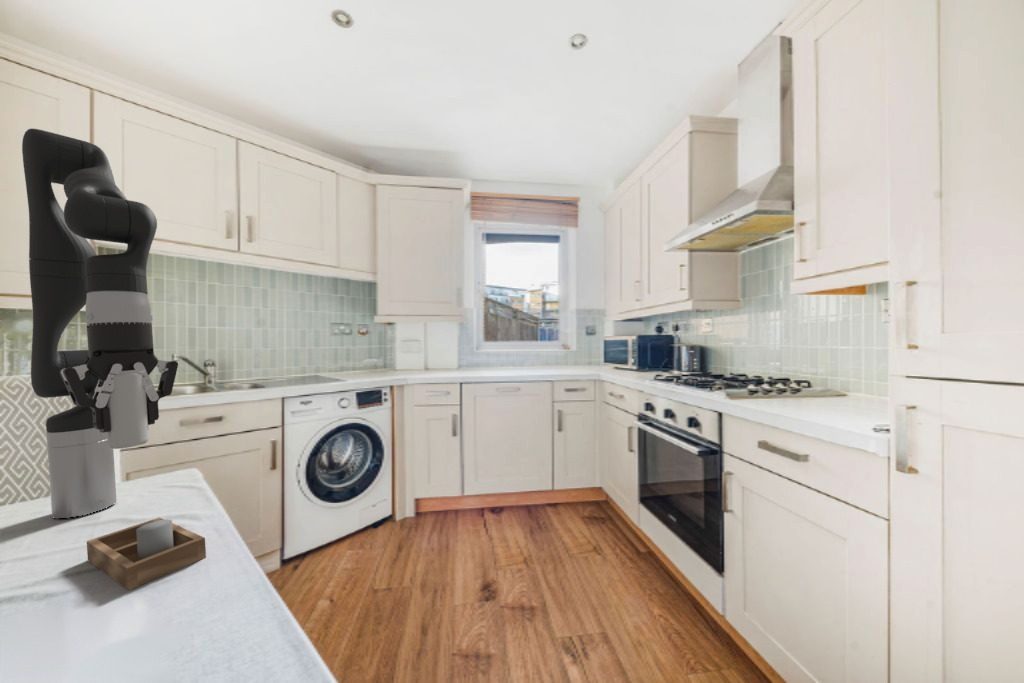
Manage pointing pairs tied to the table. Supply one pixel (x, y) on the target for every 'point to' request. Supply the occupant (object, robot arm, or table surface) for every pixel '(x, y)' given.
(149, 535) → the stub
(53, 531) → the table surface
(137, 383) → the beverage can
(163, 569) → the rack
